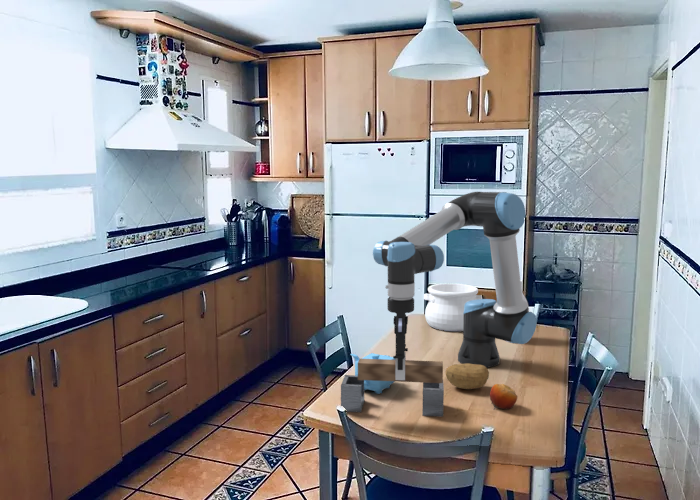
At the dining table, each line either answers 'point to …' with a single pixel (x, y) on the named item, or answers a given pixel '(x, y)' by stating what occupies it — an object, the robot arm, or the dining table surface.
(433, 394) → the bracket
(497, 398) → the fruit
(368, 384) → the teapot
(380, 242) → the robot arm
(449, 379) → the potato
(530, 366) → the dining table surface
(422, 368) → the rail
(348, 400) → the bracket
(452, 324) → the pot
